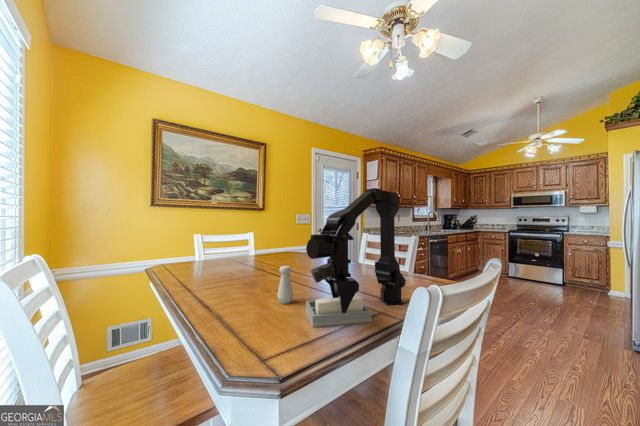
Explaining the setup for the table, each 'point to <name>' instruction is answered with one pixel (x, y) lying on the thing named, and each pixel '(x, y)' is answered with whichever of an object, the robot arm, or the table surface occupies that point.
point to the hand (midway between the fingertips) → (339, 307)
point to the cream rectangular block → (337, 305)
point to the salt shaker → (285, 286)
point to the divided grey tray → (337, 316)
